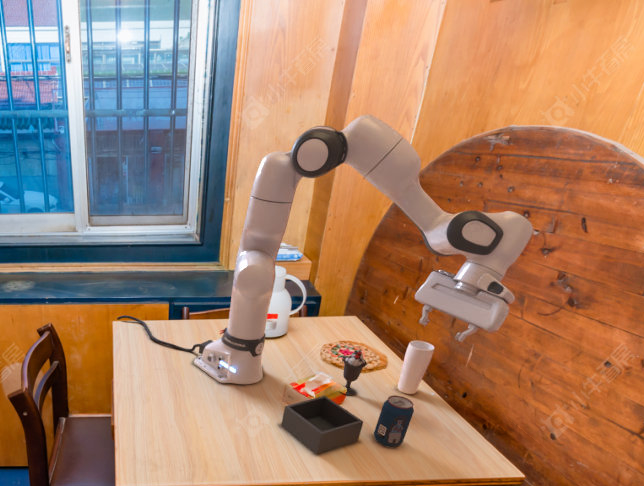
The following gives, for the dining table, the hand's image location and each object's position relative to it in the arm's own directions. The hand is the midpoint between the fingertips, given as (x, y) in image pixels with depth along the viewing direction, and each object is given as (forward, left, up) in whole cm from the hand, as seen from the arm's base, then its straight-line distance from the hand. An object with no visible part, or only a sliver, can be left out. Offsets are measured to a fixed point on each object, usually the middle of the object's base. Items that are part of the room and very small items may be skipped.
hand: (439, 332), depth 125 cm
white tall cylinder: (-8, +17, -27) cm, 32 cm away
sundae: (-19, +2, -27) cm, 33 cm away
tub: (-12, -24, -27) cm, 38 cm away
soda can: (+1, -13, -27) cm, 30 cm away
